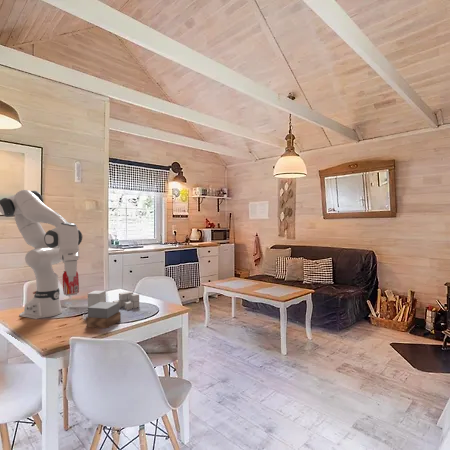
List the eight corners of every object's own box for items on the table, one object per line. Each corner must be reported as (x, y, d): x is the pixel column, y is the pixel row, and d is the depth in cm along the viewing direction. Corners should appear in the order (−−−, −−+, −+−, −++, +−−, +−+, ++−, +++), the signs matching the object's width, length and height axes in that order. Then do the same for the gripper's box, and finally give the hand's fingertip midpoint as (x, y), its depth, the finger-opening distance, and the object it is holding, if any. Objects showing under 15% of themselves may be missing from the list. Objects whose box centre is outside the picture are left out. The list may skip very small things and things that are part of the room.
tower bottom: (86, 327, 160) (86, 317, 160) (101, 319, 172) (100, 310, 172) (107, 328, 158) (107, 319, 157) (120, 321, 169) (120, 311, 169)
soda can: (67, 294, 158) (65, 270, 159) (81, 293, 158) (80, 269, 160) (60, 296, 151) (59, 271, 152) (75, 294, 151) (74, 269, 153)
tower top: (87, 317, 161) (87, 307, 160) (100, 310, 171) (100, 301, 171) (107, 318, 158) (107, 308, 158) (119, 311, 169) (118, 302, 169)
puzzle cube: (112, 307, 195) (112, 294, 194) (130, 303, 203) (130, 291, 202) (120, 311, 186) (120, 298, 185) (139, 307, 194) (139, 294, 193)
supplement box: (106, 312, 185) (106, 290, 184) (99, 316, 177) (99, 293, 177) (95, 311, 186) (94, 290, 185) (87, 315, 179) (87, 293, 178)
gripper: (60, 253, 163) (61, 280, 163) (63, 257, 145) (64, 287, 146) (74, 252, 166) (75, 278, 166) (78, 256, 148) (79, 285, 149)
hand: (70, 282), depth 156 cm, fingers closed on soda can, 6 cm apart
